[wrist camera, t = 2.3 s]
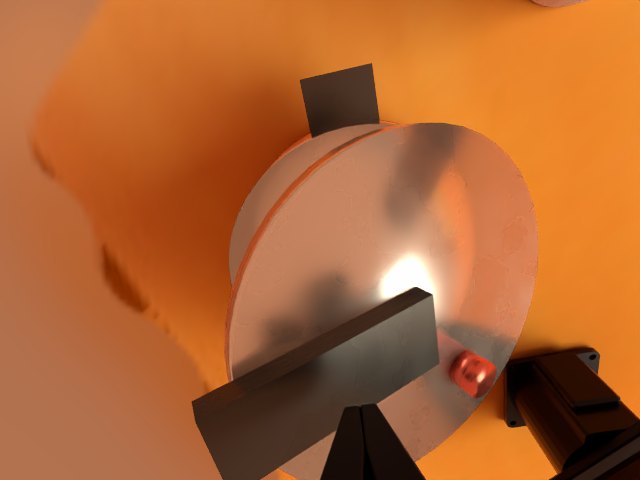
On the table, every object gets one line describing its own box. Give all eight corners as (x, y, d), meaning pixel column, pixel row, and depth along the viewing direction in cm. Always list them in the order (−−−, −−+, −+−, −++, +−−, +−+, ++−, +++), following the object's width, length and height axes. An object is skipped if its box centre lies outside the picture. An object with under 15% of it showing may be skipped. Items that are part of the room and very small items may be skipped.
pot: (477, 335, 24) (514, 390, 19) (287, 366, 25) (279, 425, 21) (465, 48, 17) (517, 28, 13) (207, 108, 18) (168, 109, 14)
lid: (515, 362, 19) (553, 384, 17) (263, 545, 13) (282, 605, 11) (518, 90, 13) (573, 82, 12) (105, 203, 8) (96, 219, 6)
